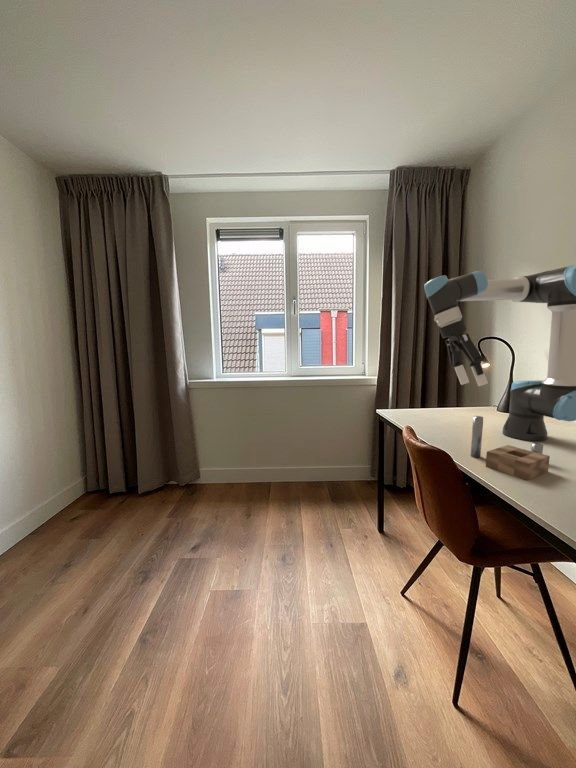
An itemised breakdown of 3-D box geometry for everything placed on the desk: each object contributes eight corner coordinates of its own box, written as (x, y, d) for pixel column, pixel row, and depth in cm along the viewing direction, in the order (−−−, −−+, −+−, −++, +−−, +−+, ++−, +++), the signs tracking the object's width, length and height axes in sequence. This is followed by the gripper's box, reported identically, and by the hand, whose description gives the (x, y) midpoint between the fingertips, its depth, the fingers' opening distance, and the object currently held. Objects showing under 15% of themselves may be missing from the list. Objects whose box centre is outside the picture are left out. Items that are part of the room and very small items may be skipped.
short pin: (533, 459, 112) (534, 442, 111) (543, 462, 109) (545, 444, 108) (528, 461, 110) (530, 443, 109) (538, 464, 108) (540, 446, 107)
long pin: (473, 454, 117) (476, 415, 115) (482, 456, 114) (485, 417, 112) (468, 455, 116) (471, 416, 114) (477, 458, 113) (479, 418, 111)
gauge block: (506, 459, 112) (507, 445, 111) (548, 471, 102) (549, 456, 101) (485, 466, 106) (486, 451, 105) (527, 480, 96) (528, 463, 95)
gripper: (428, 332, 122) (448, 386, 121) (453, 321, 97) (479, 389, 97) (448, 324, 121) (469, 379, 121) (479, 312, 96) (505, 380, 96)
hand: (473, 384), depth 109 cm, fingers open, 13 cm apart
